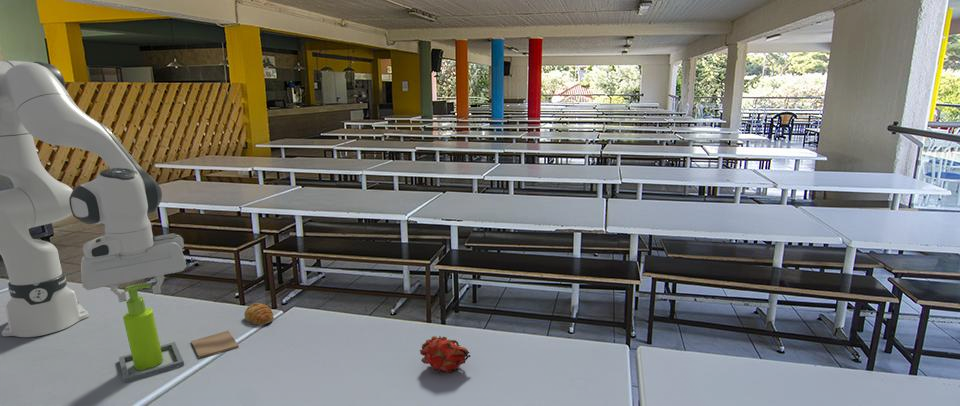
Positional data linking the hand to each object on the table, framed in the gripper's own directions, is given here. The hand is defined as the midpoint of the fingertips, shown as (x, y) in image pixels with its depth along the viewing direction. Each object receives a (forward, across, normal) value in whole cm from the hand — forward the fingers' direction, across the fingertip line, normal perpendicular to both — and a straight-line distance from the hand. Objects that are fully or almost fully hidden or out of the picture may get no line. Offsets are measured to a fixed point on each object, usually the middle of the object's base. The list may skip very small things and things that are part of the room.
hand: (140, 297), depth 123 cm
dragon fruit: (+17, -54, +46) cm, 73 cm away
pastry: (+18, -28, -8) cm, 34 cm away
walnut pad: (+17, -14, 0) cm, 22 cm away
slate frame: (+17, 0, 0) cm, 17 cm away
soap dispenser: (+17, 0, 0) cm, 17 cm away
